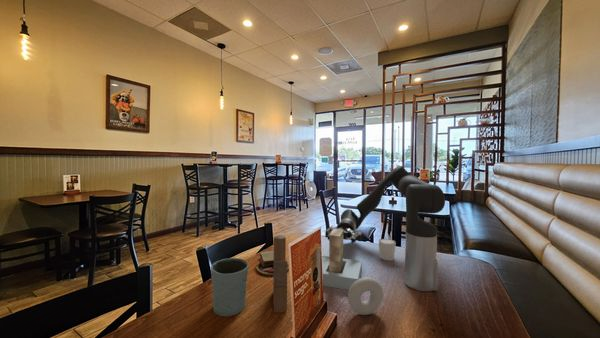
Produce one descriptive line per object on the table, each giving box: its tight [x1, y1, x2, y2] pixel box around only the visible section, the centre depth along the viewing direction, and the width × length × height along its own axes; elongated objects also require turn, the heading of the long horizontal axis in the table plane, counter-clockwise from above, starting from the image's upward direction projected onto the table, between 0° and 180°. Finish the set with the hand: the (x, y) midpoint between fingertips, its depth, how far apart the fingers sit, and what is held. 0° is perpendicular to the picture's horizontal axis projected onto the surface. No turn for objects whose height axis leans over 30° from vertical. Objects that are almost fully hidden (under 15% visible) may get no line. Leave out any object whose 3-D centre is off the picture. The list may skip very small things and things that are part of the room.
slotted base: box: [321, 255, 363, 291], centre depth 88 cm, size 16×14×4 cm
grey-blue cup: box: [210, 257, 249, 317], centre depth 70 cm, size 10×10×12 cm
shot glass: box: [378, 238, 397, 261], centre depth 105 cm, size 7×7×7 cm
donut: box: [347, 276, 384, 316], centre depth 67 cm, size 10×4×10 cm, turn 104°
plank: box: [328, 228, 344, 274], centre depth 88 cm, size 4×8×16 cm, turn 162°
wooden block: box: [272, 234, 288, 313], centre depth 73 cm, size 4×11×18 cm, turn 7°
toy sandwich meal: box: [255, 250, 290, 277], centre depth 95 cm, size 12×14×5 cm
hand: (340, 239), depth 96 cm, fingers open, 8 cm apart
